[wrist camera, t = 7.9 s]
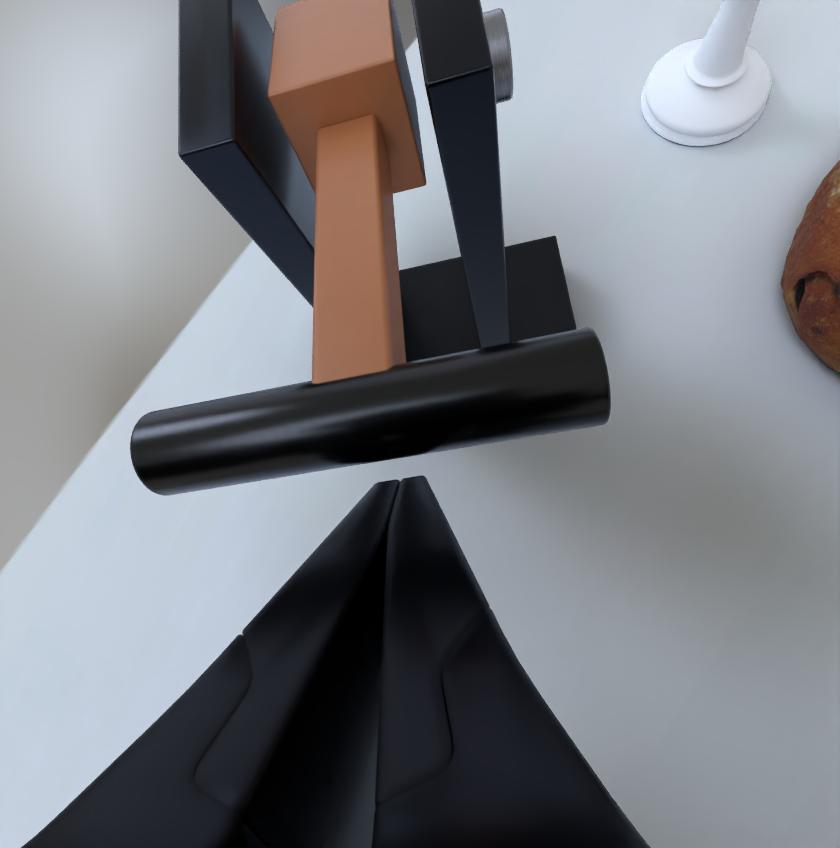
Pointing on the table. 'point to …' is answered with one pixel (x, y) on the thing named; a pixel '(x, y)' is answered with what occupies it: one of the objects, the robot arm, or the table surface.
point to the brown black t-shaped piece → (364, 296)
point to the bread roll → (817, 273)
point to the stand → (296, 201)
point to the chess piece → (709, 82)
